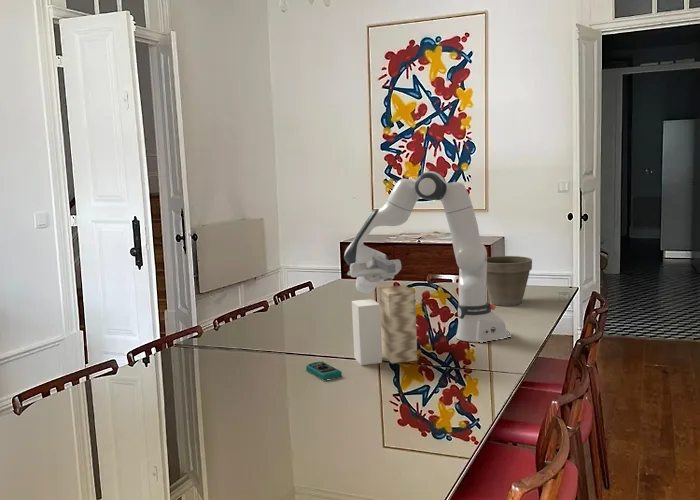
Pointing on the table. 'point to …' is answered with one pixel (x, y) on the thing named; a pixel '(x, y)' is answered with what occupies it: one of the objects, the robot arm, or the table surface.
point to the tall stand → (398, 323)
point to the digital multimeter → (323, 370)
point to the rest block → (366, 331)
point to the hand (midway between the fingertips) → (379, 260)
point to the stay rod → (384, 264)
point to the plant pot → (507, 279)
